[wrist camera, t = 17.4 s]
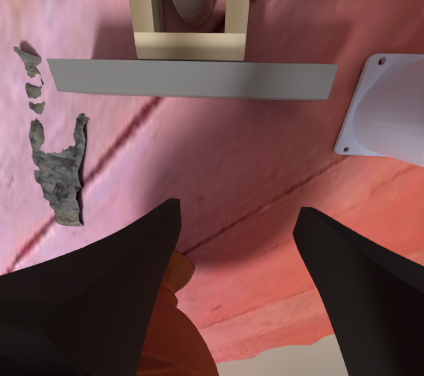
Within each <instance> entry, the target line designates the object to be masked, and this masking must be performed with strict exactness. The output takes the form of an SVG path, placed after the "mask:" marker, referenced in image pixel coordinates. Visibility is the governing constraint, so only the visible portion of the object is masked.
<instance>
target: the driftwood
mask: <svg viewBox="0 0 424 376" xmlns="http://www.w3.org/2000/svg"><path fill="white" fill-rule="evenodd" d="M14 51H15V52H16V53H17V54H18V55H19V56H20V57H21V58H22V60H23V62H24V64H25V69H26V70H27V72H28V73H27V74H28V76H30V77H31V78H32V77H35V74H40V72H39V70H38V69H37V68H36V66H37V65H38V64H40V63H41V58H40V57H38V56H33V55H32V54H28V53H26V52H23V51H21V50H20V49H19V48H18V47H15V46H14ZM30 69H31V70H32V71H31V70H30ZM40 75H41V74H40ZM41 82H42V85H43V84H44V82H43V81H42V78H41ZM25 88H26V92H27V94H28V97H29V98H30V97H31V98H35V99H36V98H37V97H39V96H40V95H41V90H40V89H41V88H42V86H40V87H36V86H32V85H30V84H29V83H26V86H25ZM44 105H45V102H42V103H41V104H40V103H37V104H33V103H32V102H29V107H30V109H32V110H34V111H35V112H36V113H38V114H40V115H41V114H42V111H43V109H44V108H43V107H44ZM89 119H90V118H88V117H85V114H84V113H82V114H80V115H79V117H77V118H76V127H75V133H73V134H74V139H75V143H76V145H75V146H74V147H73V146H69V148H68V149H66V150H62V153H56V152H54V153H53V154H52V153H47V154H46V155H45V152H43V151H41V150H39V149H40V148H41V146H42V144H43V143H44V142H43V141H44V129H43V128H42V125H41V123H40V121H39V120H37V118H36V120H35V121H31V127H30V133H29V138H30V141H31V146H32V149H33V151H32V152H33V155H32V158H33V162H34V164H35V165H37V166H38V167H39V169H40V170H39V171H38V170H35V171H34V174H35V179H36V182H37V183H39V184H40V185H41V187H42V190H43V194H44V195H43V196H44V198H45V199H47V200H48V201H49V203H50V207H51V208H52V209H53V210H54V213H55V215H56V217H57V218H56V219H55V221H56V222H57V223H58V224H61V225H65V226H83V225H80V224H82V223H80V222H79V216H78V215H79V206H78V202H77V200H76V192H78V191H80V190H82V187H81V186H80V183H79V179H78V169H79V166H80V163H81V161H82V157H83V155H84V149H85V136H84V133H83V128H84V125H85V124H86V123H87V121H88V120H89Z"/></svg>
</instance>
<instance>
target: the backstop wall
mask: <svg viewBox="0 0 424 376" xmlns="http://www.w3.org/2000/svg"><path fill="white" fill-rule="evenodd" d="M47 61H48V64H49V67H50V70H51V73H52V76H53V79H54V82H55V85H56V88H57V90H58V91H61V92H72V93H83V94H94V95H124V96H156V97H188V98H221V99H253V100H285V101H312V100H327V99H328V98H329V95H330V91H331V88H332V85H333V82H334V78H335V75H336V72H337V69H338V66H339V64H301V63H249V62H198V61H146V60H95V59H47Z"/></svg>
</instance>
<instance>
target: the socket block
mask: <svg viewBox="0 0 424 376" xmlns="http://www.w3.org/2000/svg"><path fill="white" fill-rule="evenodd" d="M249 1H250V0H226V16H225V33H165V29H164V15H163V2H162V0H129V3H130V10H131V17H132V24H133V31H134V38H135V45H136V52H137V59H139V60H146V61H198V62H243V61H244V54H245V43H246V33H247V22H248V11H249Z"/></svg>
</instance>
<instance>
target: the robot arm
mask: <svg viewBox="0 0 424 376" xmlns="http://www.w3.org/2000/svg"><path fill="white" fill-rule="evenodd" d="M380 59H381V60H382V62H381V64H380V65H379V64H378V61H379V60H380ZM346 147H347V149H346V150H345V151H344V148H346ZM334 152H335V153H336V154H343V155H364V156H385V157H391V158H395V159H398V160H401V161H404V162H408V163H411V164H414V165H417V166H421V167H424V54H382V53H378V54H374V55H371V56H370V57H369V58H368V59H367V60H366V62H365V65H364V68H363V70H362V73H361V76H360V79H359V81H358V84H357V87H356V89H355V92H354V95H353V98H352V100H351V103H350V106H349V109H348V111H347V114H346V117H345V119H344V122H343V125H342V128H341V130H340V133H339V136H338V139H337V141H336V144H335V147H334ZM181 226H182V225H181V210H180V199H174V198H169V199H168V200H166V201H165V202H163V203H162V204H161V205H159V206H158V207H156V208H155V209H153V210H152V211H150V212H149V213H148V214H146V215H144V216H143V217H141V218H140V219H138V220H136V221H135V222H133V223H132V224H130V225H128V226H127V227H125V228H123V229H121V230H119V231H117V232H115V233H113V234H111V235H109V236H107V237H105V238H103V239H101V240H99V241H96V242H94V243H92V244H89V245H87V246H85V247H83V248H80V249H78V250H75V251H73V252H70V253H67V254H65V255H62V256H59V257H57V258H54V259H51V260H48V261H45V262H42V263H39V264H36V265H33V266H30V267H27V268H24V269H21V270H17V271H14V272H11V273H8V274H5V275H1V276H0V376H136V372H137V368H138V364H139V360H140V356H141V352H142V348H143V345H144V341H145V337H146V333H147V329H148V326H149V322H150V319H151V315H152V311H153V308H154V304H155V301H156V298H157V294H158V291H159V288H160V284H161V281H162V278H163V276H164V273H165V271H166V268H167V266H168V263H169V261H170V258H171V256H172V253H173V251H174V248H175V246H176V243H177V241H178V237H179V234H180V230H181ZM293 237H294V240H295V243H296V246H297V249H298V251H299V253H300V255H301V257H302V259H303V261H304V263H305V265H306V267H307V269H308V271H309V273H310V275H311V277H312V279H313V281H314V283H315V285H316V287H317V289H318V292H319V294H320V296H321V298H322V301H323V303H324V306H325V309H326V311H327V314H328V316H329V319H330V322H331V324H332V327H333V330H334V333H335V336H336V338H337V341H338V344H339V347H340V350H341V353H342V356H343V359H344V362H345V365H346V368H347V371H348V375H349V376H424V266H422V265H420V264H417V263H415V262H413V261H411V260H409V259H407V258H405V257H403V256H400V255H398V254H396V253H394V252H392V251H390V250H388V249H386V248H384V247H382V246H380V245H378V244H377V243H375V242H373V241H371V240H369V239H367V238H365V237H364V236H362V235H360V234H358V233H357V232H355V231H353V230H351V229H350V228H348V227H346V226H344V225H343V224H341V223H339V222H338V221H336V220H334V219H333V218H331V217H329V216H328V215H326V214H324V213H322V212H321V211H319V210H317V209H315V208H313V207H301V210H300V213H299V216H298V219H297V222H296V225H295V228H294V231H293Z"/></svg>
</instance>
